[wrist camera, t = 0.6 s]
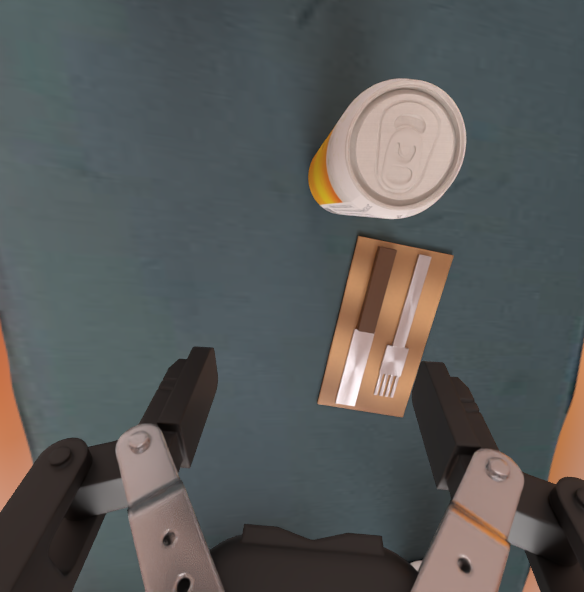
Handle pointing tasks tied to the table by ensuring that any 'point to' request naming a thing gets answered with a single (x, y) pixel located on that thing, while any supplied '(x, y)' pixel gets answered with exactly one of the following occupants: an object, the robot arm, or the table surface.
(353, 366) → the knife
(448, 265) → the cork mat
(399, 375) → the fork
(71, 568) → the robot arm
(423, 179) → the beer can
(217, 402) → the table surface
